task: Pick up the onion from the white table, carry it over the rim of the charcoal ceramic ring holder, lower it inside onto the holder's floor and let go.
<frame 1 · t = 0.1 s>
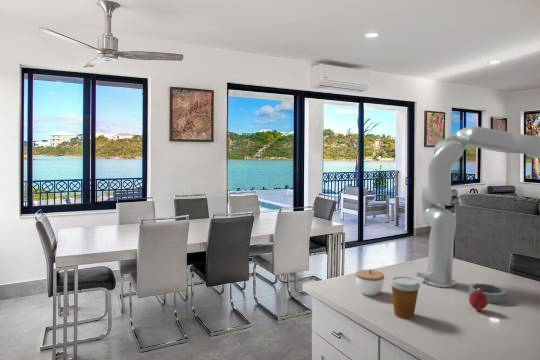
lidded jar: (369, 293, 155), on the kitchen island
disposable coffee cup: (403, 315, 135), on the kitchen island
onion: (477, 311, 139), on the kitchen island
ring holder: (486, 297, 151), on the kitchen island
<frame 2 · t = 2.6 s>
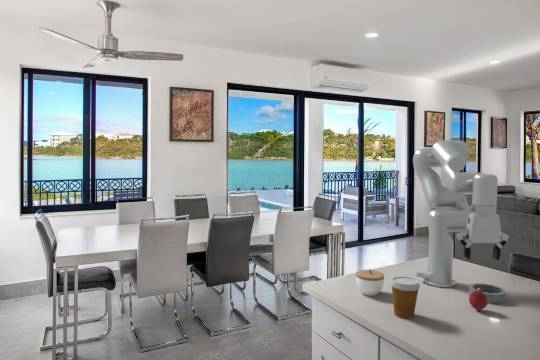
hand: (481, 258, 137), 19 cm above the kitchen island, tool pointing down, fingers open, 9 cm apart
nothing on the kitchen island moved.
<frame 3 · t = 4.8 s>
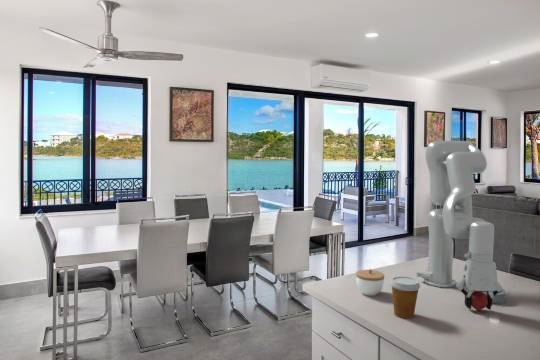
hand: (478, 307, 139), 1 cm above the kitchen island, tool pointing down, fingers closed on onion, 5 cm apart
onion: (477, 311, 139), on the kitchen island, touching gripper
everything else where it was.
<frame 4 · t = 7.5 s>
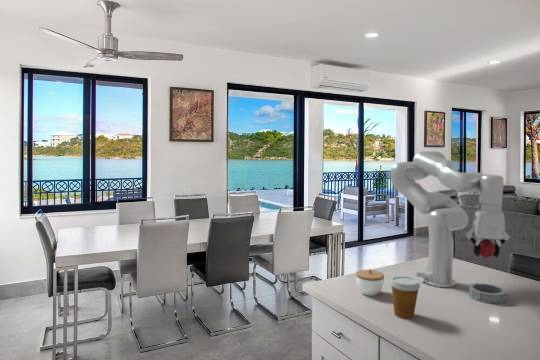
hand: (485, 255, 148), 17 cm above the kitchen island, tool pointing down, fingers closed on onion, 5 cm apart
onion: (485, 258, 148), point 16 cm above the kitchen island, touching gripper
everything else where it was.
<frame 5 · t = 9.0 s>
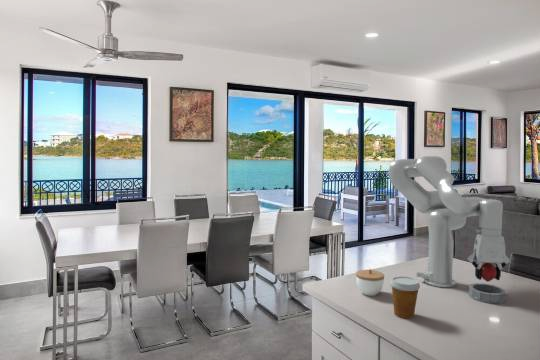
hand: (487, 278, 150), 8 cm above the kitchen island, tool pointing down, fingers closed on onion, 5 cm apart
onion: (487, 282, 151), point 6 cm above the kitchen island, touching gripper
everything else where it was.
when the fingers open (4 cm above the kitchen island, at t = 10.2 s): onion drops 2 cm, resting on ring holder.
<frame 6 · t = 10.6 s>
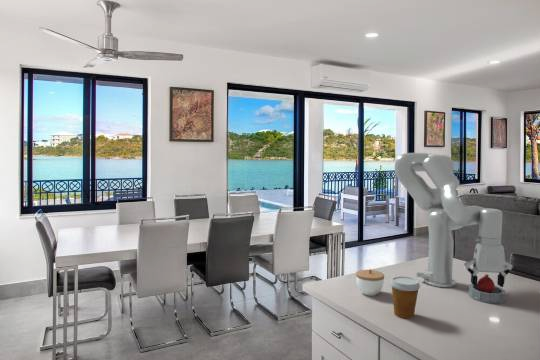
hand: (487, 285, 151), 5 cm above the kitchen island, tool pointing down, fingers open, 9 cm apart
onion: (485, 295, 151), point 1 cm above the kitchen island, touching ring holder
everything else where it was.
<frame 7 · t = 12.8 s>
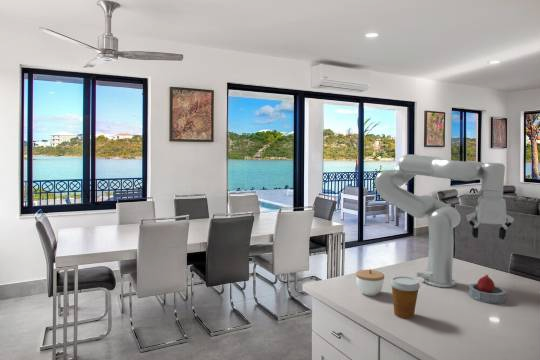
hand: (488, 238, 155), 22 cm above the kitchen island, tool pointing down, fingers open, 9 cm apart
nothing on the kitchen island moved.
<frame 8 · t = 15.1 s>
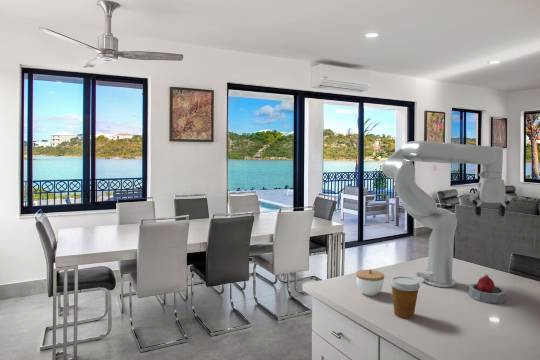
hand: (489, 215, 170), 28 cm above the kitchen island, tool pointing down, fingers open, 9 cm apart
nothing on the kitchen island moved.
at the end: onion 0.4 cm off-centre on the ring holder, point 0.8 cm above the ring holder's base; the gripper is holding nothing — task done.
